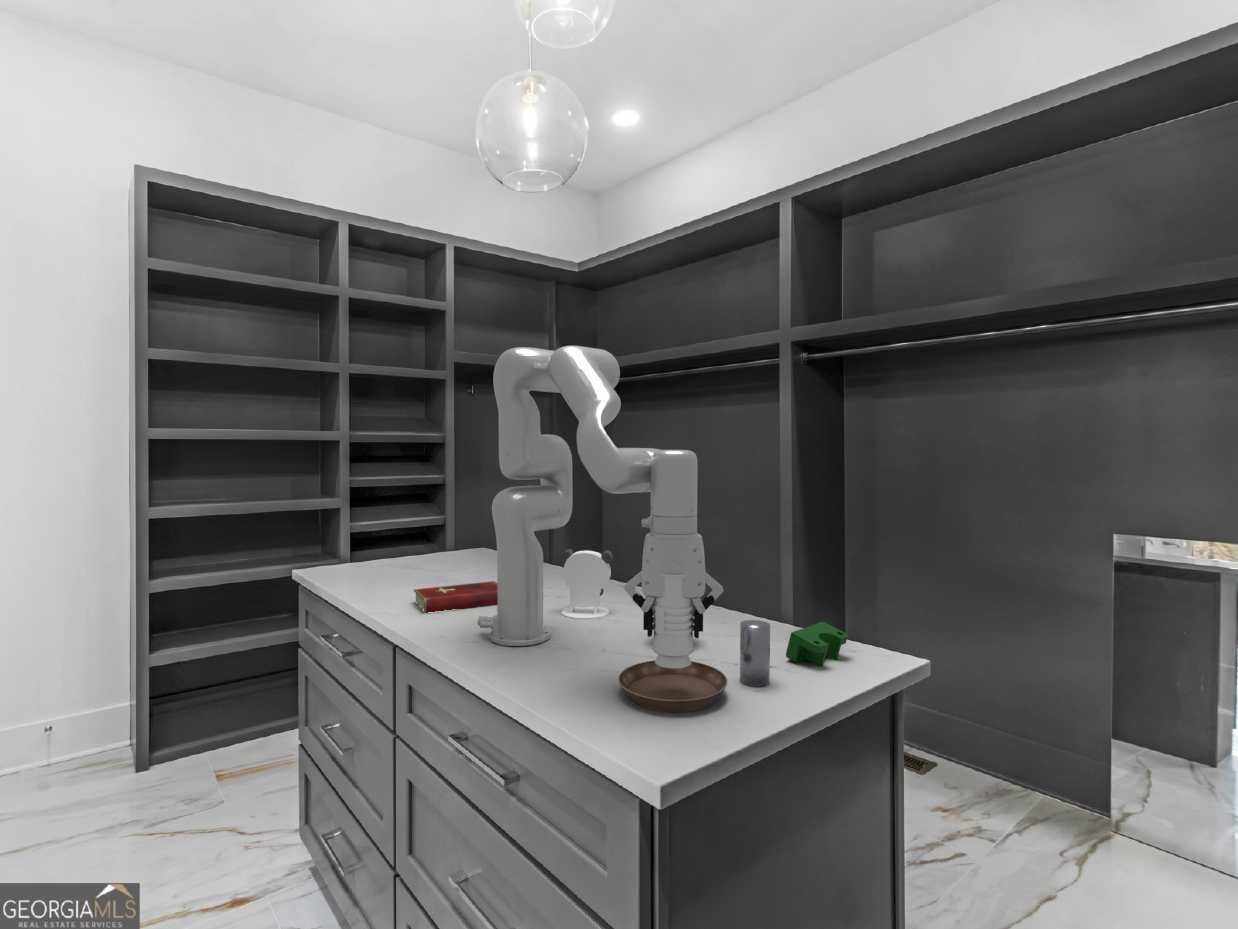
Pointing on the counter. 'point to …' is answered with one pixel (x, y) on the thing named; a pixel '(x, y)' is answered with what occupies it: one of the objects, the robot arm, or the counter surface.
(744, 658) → the metal pillar
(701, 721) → the counter surface
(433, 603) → the hardcover book
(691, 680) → the plant saucer
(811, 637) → the clamp
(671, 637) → the white ribbed cylinder
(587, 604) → the panda figurine
